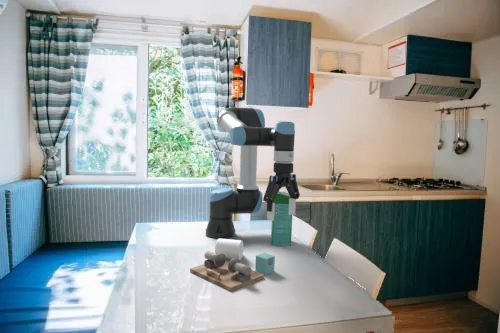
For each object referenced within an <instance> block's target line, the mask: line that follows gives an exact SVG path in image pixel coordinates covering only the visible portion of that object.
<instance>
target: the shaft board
mask: <svg viewBox="0 0 500 333" xmlns="http://www.w3.org/2000/svg"><path fill="white" fill-rule="evenodd" d="M203 256H204V258H205V260H204V264H201V265H197V266H194V267H191V268H190V269H189V272H190V273H192V274H194V275H196V276H199V277H200V278H202V279H204V280H206V281H209V282H210V283H212V284H215V285H217V286H219V287H221V288H223V289H225V290H227V291H229V292H233V291H235V290H237V289H240V288H243V287H246V286H248V285H250V284H253V283H254V282H255V283H256V282H257V281H260V280H263V279H264V278H265V275H264V274H261V273H259V272H256V271H255V270H254V269H252V268H251V267H250V266H247V264H243V263H241V262H240V260H238V259H236V258H233V259H231V260H230V259H226V256H225V255H224V254H223V253H219V254H215V252H211V251H206V252H204V255H203Z"/></svg>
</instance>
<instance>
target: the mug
mask: <svg viewBox="0 0 500 333" xmlns="http://www.w3.org/2000/svg"><path fill="white" fill-rule="evenodd" d="M243 241H244V240H241V239H232V238H230V239H229V238H217V240H216V243H215V247H214V254H219V253H223V254H224V255H225V256H226V260H229V261H230V260H231V259H233V258H236V259H238V260H239V261H241V260H242V258H243V254H244V242H243Z"/></svg>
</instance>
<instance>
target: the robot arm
mask: <svg viewBox="0 0 500 333" xmlns="http://www.w3.org/2000/svg"><path fill="white" fill-rule="evenodd" d="M265 119H266V118H265V115H264V113H263V111H262V110H261V109H260V108H254V107H249V108H248V107H235V106H233V107H232V106H231V107H230V106H229V107H227V108H225V109H223V110H221V111H220V112H219V114H218V115H217V119H216V122H217V125H218V127H219V128H220V129H221V131H225V132H227V133H228V134H229V141H230V144H231V145H233V146H239V147H240V156H239V184H238V185H237V187H236V189H235V190H234V189H233V188H232V187H231V188H229V187H227V188H226V187H221V188H217V189H214V190H212V191H211V192H210V195H209V199H208V200H209V220H208V222H207V226H206V229H205V236H206V237H208V238H213V239H219V238H221V239H229V238H230V239H231V238H233V237H235V236H236V228H235V224H234V222H233V221H234V220H233V215H239V214H240V215H241V214H243V215H244V214H250V215H251V214H257V213H259V212H260V210H261V208H262V206H263V201H264V202H265V203H266V211H267V212H266V215H267V216H266V220H267V221H271V222H272V221H274V209H275V203H273V201H274V199H275V198H276V196H277V194H278V192H279V191H280V190H281V189H282V188H284V187H285V189H286V192H288V193H289V195H290V197H291V198H289V215H292V216H296V209H297V208H296V206H297V200H298V199H300V196H301V194H300V190H299V187H298V183H297V175H296V174H295V173H294V163H293V162H294V154H295V153H294V152H295V135H296V134H295V133H296V128H295V126H296V125H295V124H296V123H294V122H292V121H286V120H285V121H281V120H280V121H276V122H275V123H274V124H275V125H274V127H268V126H266V120H265ZM259 146H260V147H273V161H274V163H273V170H272V171H273V173H274V174H275V175H269V179H268V184H267V187H266V190H265V193H264V194H263V193H262V191H261V190H260V188H259V186H258V185H257V165H258V164H257V162H258V147H259ZM293 173H294V174H293ZM263 195H264V196H263Z"/></svg>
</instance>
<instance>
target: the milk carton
mask: <svg viewBox="0 0 500 333" xmlns="http://www.w3.org/2000/svg"><path fill="white" fill-rule="evenodd" d="M289 198H291V197H290V195H289V193H288V191H287V190H282V191H280V190H279V192H278V194H277V196H276V198H275V199H274V201H273V203H275V209H274V221H272V220H271V228H270V229H271V230H270V231H271V232H270V233H271V234H270V241H271V242H270V243H271V246H288V247H289V246H292V234H293V233H292V230H293V227H292V226H293V215H289Z"/></svg>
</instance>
